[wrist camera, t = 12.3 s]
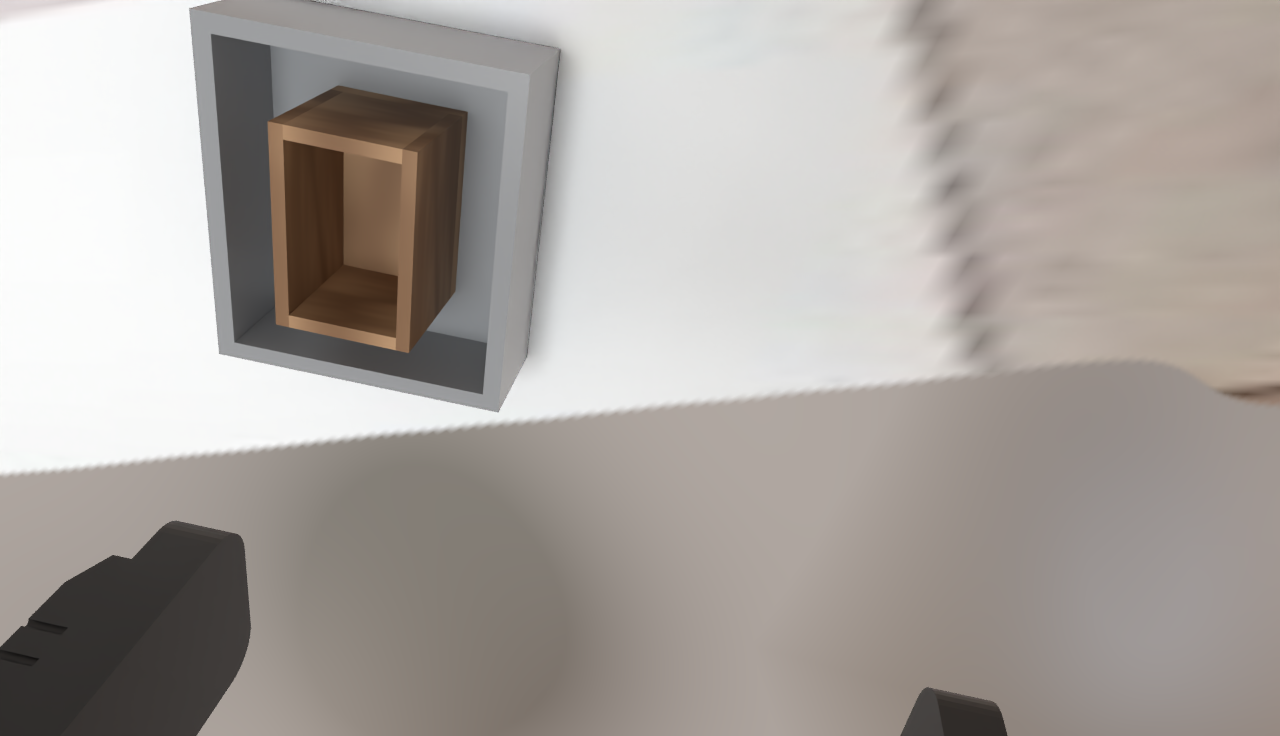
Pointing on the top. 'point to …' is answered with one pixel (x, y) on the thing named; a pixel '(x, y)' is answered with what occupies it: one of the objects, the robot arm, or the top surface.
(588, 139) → the top surface
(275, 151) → the crate small
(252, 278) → the crate large
